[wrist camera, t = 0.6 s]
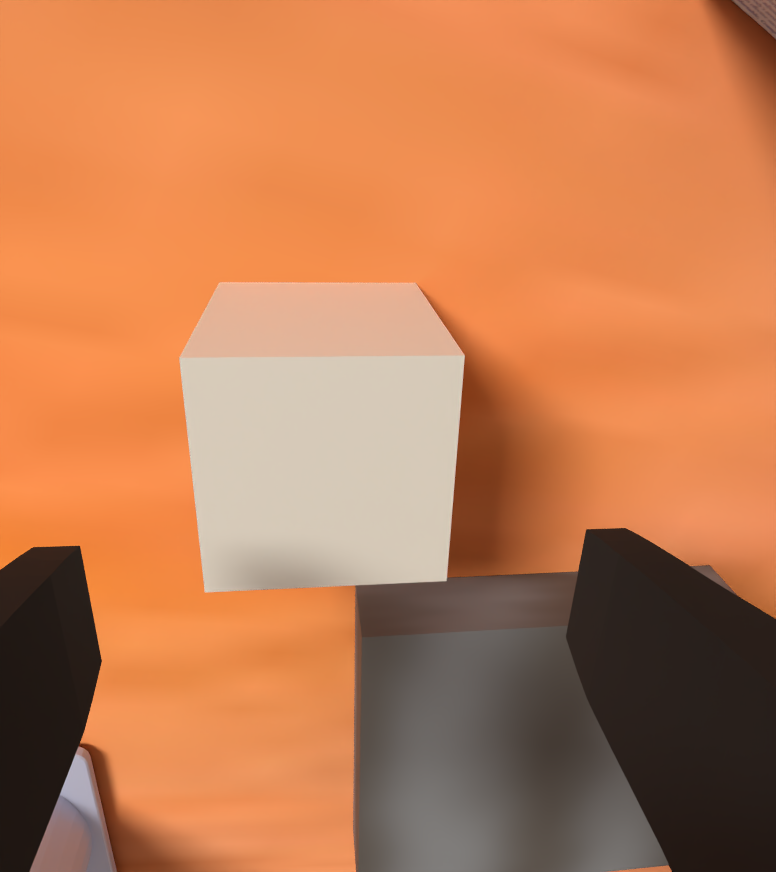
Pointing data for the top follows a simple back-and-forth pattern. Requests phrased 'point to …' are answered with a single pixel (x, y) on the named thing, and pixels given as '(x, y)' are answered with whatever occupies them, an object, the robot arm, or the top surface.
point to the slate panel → (484, 735)
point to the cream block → (322, 435)
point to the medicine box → (761, 13)
